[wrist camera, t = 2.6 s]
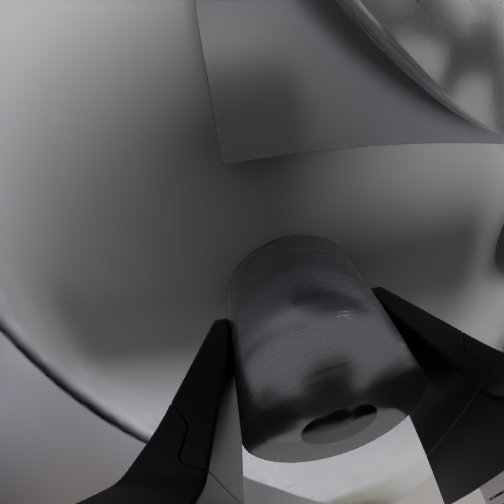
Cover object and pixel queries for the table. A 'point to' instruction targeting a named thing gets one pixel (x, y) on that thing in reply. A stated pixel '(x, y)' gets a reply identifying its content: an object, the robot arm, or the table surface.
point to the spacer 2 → (500, 253)
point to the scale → (311, 84)
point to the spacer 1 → (314, 354)
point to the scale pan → (443, 50)
